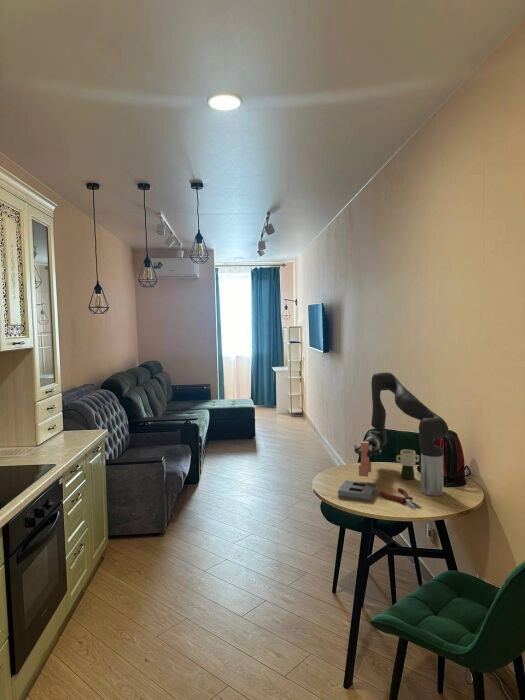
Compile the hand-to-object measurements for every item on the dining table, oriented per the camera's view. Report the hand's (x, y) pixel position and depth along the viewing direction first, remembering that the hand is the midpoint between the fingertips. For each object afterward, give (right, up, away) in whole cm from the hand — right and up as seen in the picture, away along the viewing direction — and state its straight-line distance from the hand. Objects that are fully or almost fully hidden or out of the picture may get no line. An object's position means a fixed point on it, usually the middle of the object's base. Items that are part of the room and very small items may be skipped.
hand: (363, 454), depth 214 cm
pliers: (+11, -16, -19) cm, 27 cm away
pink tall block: (+1, -10, +3) cm, 10 cm away
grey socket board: (-5, -15, -11) cm, 19 cm away
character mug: (+23, -14, +9) cm, 29 cm away
